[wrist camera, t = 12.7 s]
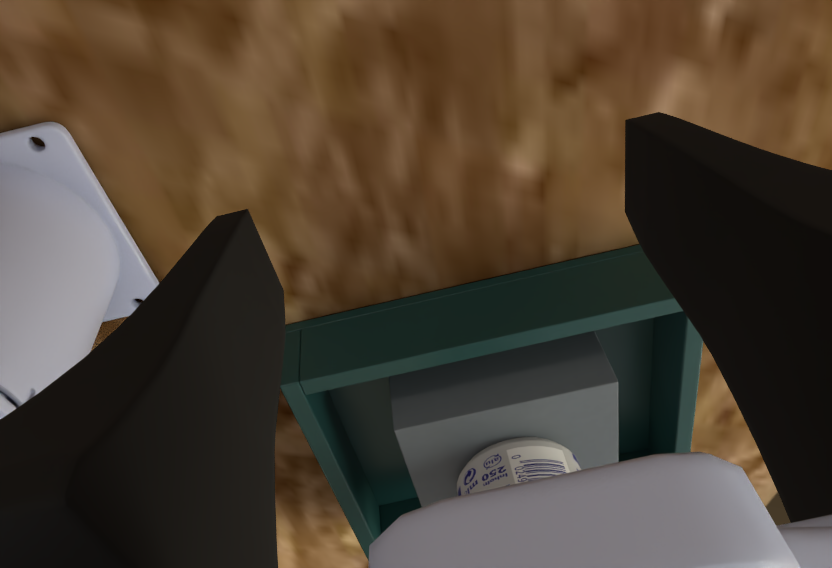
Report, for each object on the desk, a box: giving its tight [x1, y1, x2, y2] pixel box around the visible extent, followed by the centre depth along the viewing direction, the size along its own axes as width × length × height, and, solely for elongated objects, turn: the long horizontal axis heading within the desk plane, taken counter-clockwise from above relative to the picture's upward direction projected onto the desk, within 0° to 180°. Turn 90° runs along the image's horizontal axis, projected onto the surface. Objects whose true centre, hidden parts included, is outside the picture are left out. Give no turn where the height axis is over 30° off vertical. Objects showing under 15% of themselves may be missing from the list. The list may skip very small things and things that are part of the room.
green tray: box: [280, 245, 703, 561], centre depth 30 cm, size 17×15×4 cm
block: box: [388, 331, 618, 507], centre depth 30 cm, size 9×9×4 cm
